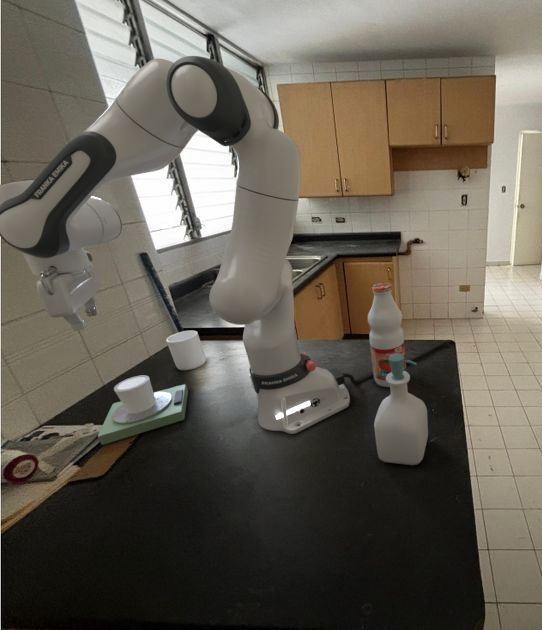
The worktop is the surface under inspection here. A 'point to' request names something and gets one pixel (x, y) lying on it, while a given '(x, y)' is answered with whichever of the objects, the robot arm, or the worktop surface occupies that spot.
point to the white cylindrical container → (136, 394)
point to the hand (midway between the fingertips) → (87, 321)
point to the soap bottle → (401, 419)
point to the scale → (165, 417)
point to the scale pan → (127, 418)
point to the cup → (186, 350)
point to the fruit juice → (384, 332)
